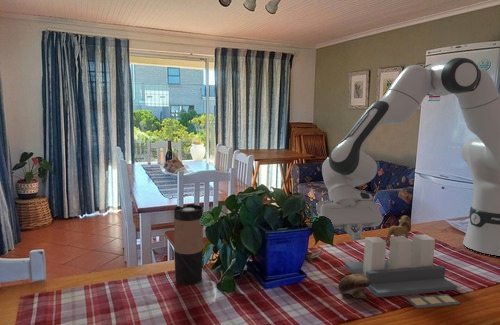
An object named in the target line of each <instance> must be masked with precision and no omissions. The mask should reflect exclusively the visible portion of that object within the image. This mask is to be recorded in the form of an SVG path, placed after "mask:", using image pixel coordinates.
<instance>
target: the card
mask: <svg viewBox="0 0 500 325" xmlns="http://www.w3.org/2000/svg"><path fill="white" fill-rule="evenodd" d="M404 299H405V301H407V302H409V303H410V304H411V305H412V306H413V307H414V308H415V309H417V310H418V309H425V308H426V309H427V308H436V307H444V306H445V307H446V306H457V304H459V305H461V302H459V301H458V300H456V299H455V298H454V297H452V296H450V295H449V294H448V293H444V294H431V295H421V296H412V297H405V298H404Z"/></svg>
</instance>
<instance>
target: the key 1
mask: <svg viewBox="0 0 500 325" xmlns="http://www.w3.org/2000/svg"><path fill="white" fill-rule="evenodd" d="M363 250H364V251H363V252H364V253H363V262H364V263H363V272H364V273H365V274H366V271H373V270H384V267H385V260H386V253H387V244H386V241H385V239H383V238H381V237H379V236H370V237H369V236H367V237H365V238H364V248H363Z"/></svg>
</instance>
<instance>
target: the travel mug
mask: <svg viewBox="0 0 500 325" xmlns="http://www.w3.org/2000/svg"><path fill="white" fill-rule="evenodd" d="M203 210H204V209H203V206H201V205H199V204H187V205H186V206H180V205H176V206H175V207H174V209H173V214H174V215H173V221H174V225H173V229H174V230H173V232H174V233H173V236H174V238H173V240H174V241H173V242H174V243H173V247H174V248H173V252H174V275H175V282H176V284H179V285H183V286H192V285H196V284H198V283H200V282H201V281H202V280H203V278H202V277H203V261H202V259H203V258H204V257H203V254H204V225H203V226H201V224H199V223H200V222H199V220H200V218H201V216H202V214H203V213H204V212H203Z"/></svg>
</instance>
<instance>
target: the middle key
mask: <svg viewBox="0 0 500 325" xmlns="http://www.w3.org/2000/svg"><path fill="white" fill-rule="evenodd" d="M412 241H413V240H412V239H410V238H408V239H407V238H406V237H405V235H401V236H397V237H394V236H390V246H389V252H388V260H389V263H388V269H400V268H410V263H411V253H412Z"/></svg>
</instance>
